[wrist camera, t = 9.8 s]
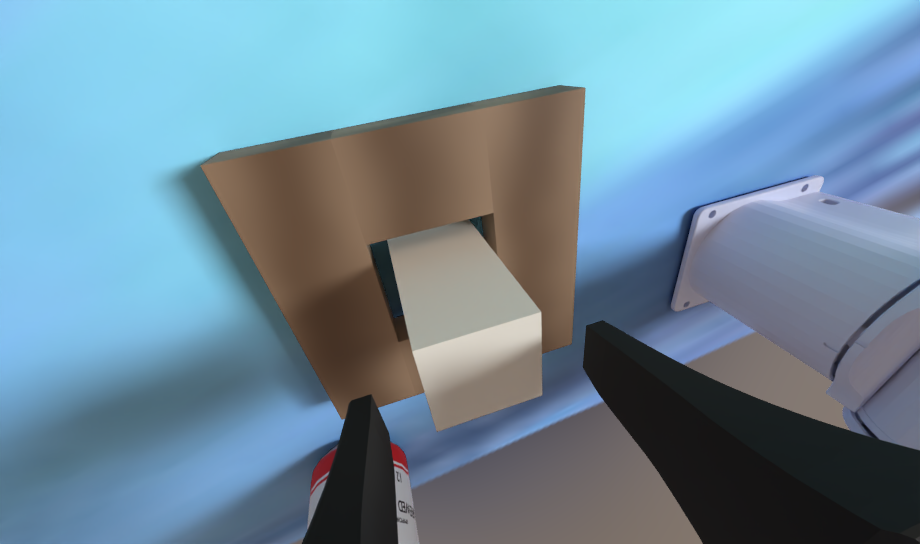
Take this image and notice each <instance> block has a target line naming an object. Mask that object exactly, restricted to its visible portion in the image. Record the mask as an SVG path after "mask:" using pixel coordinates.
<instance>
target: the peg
mask: <svg viewBox="0 0 920 544" xmlns="http://www.w3.org/2000/svg"><path fill="white" fill-rule="evenodd" d="M387 242H388V247H389V251H390V255H391V260H392V264H393V269H394V273H395V278H396V282H397V286H398V291H399V295H400V300H401V304H402V309H403V313H404V317H405V322H406V326H407V331H408V335H409V340H410V344H411V348H412V352H413V356H414V359H415V362H416V365H417V369H418V372H419V375H420V378H421V382H422V385H423V388H424V392H425V395H426V398H427V401H428V405H429V408H430V411H431V414H432V418H433V421H434V424H435V427H436V431H437V432H438V431H441V430H444V429H447V428H450V427H453V426H455V425H458V424H461V423H464V422H467V421H470V420H473V419H476V418H479V417H481V416H484V415H487V414H490V413H493V412H496V411H499V410H502V409H504V408H507V407H510V406H513V405H516V404H519V403H522V402H525V401H528V400H530V399H533V398H536V397H539V396H542V326H541V311H540V310H539V308H538V307H537V306H536V304H535V303H534V302H533V301H532V299H531V298H530V297H529V296H528V294H527V293H526V292H525V290H524V289H523V288H522V287H521V285H520V284H519V283H518V282H517V280H516V279H515V278H514V276H513V275H512V274H511V273H510V271H509V270H508V269H507V268H506V266H505V265H504V264H503V262H502V261H501V260H500V259H499V257H498V256H497V255H496V253H495V252H494V251H493V250H492V248H491V247H490V246H489V245H488V243H487V242H486V241H485V239H484V238H483V237H482V236H481V234H480V233H479V232H478V231H477V229H476V228H475V227H474V225H473V224H472V223H471V222H470V220H469V219H467V220H463V221H460V222H456V223H452V224H448V225H444V226H440V227H436V228H432V229H428V230H424V231H420V232H416V233H412V234H408V235H404V236H400V237H396V238H392V239H388V240H387Z"/></svg>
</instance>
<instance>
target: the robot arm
mask: <svg viewBox="0 0 920 544" xmlns="http://www.w3.org/2000/svg"><path fill="white" fill-rule="evenodd" d="M823 181H824V178H823V177H822V176H817V175H814V176H811V177H807V178H804V179H800V180H796V181H793V182H789V183H786V184H782V185H778V186H775V187H771V188H768V189H764V190H760V191H757V192H753V193H750V194H746V195H742V196H739V197H735V198H732V199H728V200H724V201H721V202H717V203H714V204H710V205H707V206H703V207H701V208H699V209H698V210H696V212H695V213H694V216H693V220H692V224H691V228H690V232H689V236H688V239H687V243H686V247H685V251H684V255H683V259H682V263H681V267H680V271H679V275H678V279H677V283H676V287H675V291H674V295H673V299H672V303H671V308H672V309H673V310H674V311H676V312H677V311H681V310H684V309H687V308H690V307H693V306H696V305H699V304H702V303H705V302H709V301H710V302H711V303H713V304H715V305H716V306H718V307H719V308H721V309H722V310H724V311H725V312H727V313H728V314H730V315H731V316H733V317H734V318H736V319H738V320H739V321H741V322H742V323H744V324H745V325H747V326H748V327H750V328H751V329H753V330H754V331H756V332H757V333H759V334H761V335H762V336H764V337H765V338H767V339H768V340H770V341H771V342H773V343H774V344H776V345H777V346H779V347H780V348H782V349H784V350H785V351H787V352H788V353H790V354H791V355H793V356H794V357H796V358H797V359H799V360H800V361H802V362H803V363H805V364H807V365H808V366H810V367H811V368H813V369H815V370H816V371H817V372H819V373H820V374H822V375H823V376H825V377H826V378H828V379H830V380H831V381H833V383H832V384H831V386H830V387H829V389H828V390H827V391H826V394H828V395H829V396H831V397H832V398H834V399H835V400H837V401H838V402H839V403H841V404H842V405H844V408H843V418H844V420H845V423H846V424H847V426H848V428H849V429H850V431H849V430H846V429H843V428H839V427H836V426H833V425H830V424H827V423H824V422H821V421H818V420H815V419H812V418H809V417H806V416H803V415H801V414H798V413H795V412H792V411H790V410H787V409H784V408H781V407H779V406H776V405H773V404H771V403H768V402H766V401H763V400H760V399H758V398H755V397H753V396H751V395H748V394H746V393H743V392H741V391H739V390H736V389H734V388H732V387H729V386H727V385H725V384H722V383H720V382H718V381H715V380H713V379H712V378H709V377H707V376H705V375H703V374H701V373H699V372H697V371H695V370H693V369H691V368H689V367H687V366H685V365H683V364H681V363H679V362H677V361H675V360H673V359H671V358H669V357H667V356H666V355H664V354H662V353H660V352H658V351H656V350H655V349H653V348H651V347H649V346H647V345H646V344H644V343H642V342H640V341H638V340H637V339H635V338H633V337H631V336H630V335H628V334H626V333H624V332H623V331H621V330H619V329H617V328H615V327H614V326H612V325H610V324H608V323H606V322H605V321H600V322H596V323H593V324H590V325H587V326H586V336H585V348H584V361H583V368H584V370H585V372H586V374H587V375H588V377H589V379H590V380H591V382H592V384H593V385H594V387H595V389H596V390H597V392H598V393H599V395H600V396H601V398H602V399H603V400H604V402H605V403H606V404H607V405H608V407H609V408H610V409H611V411H612V412H613V413H614V415H615V416H616V417H617V418H618V419H619V421H620V422H621V423H622V425H623V426H624V427H625V429H626V430H627V431H628V432H629V434H630V435H631V436H632V438H633V439H634V440H635V441H636V443H637V444H638V445H639V446H640V448H641V449H642V450H643V452H644V453H645V454H646V456H647V457H648V458H649V460H650V461H651V462H652V464H653V465H654V466H655V468H656V469H657V471H658V472H659V474H660V475H661V477H662V478H663V480H664V481H665V483H666V485H667V486H668V488H669V489H670V491H671V492H672V494H673V496H674V497H675V499H676V500H677V502H678V503H679V505H680V506H681V508H682V510H683V511H684V513H685V515H686V516H687V518H688V519H689V521H690V523H691V524H692V526H693V527H694V529H695V531H696V532H697V534H698V535H699V537H700V539H701V541H702V543H703V544H920V219H919V218H915V217H912V216H908V215H904V214H900V213H897V212H893V211H889V210H886V209H882V208H878V207H874V206H871V205H867V204H863V203H859V202H856V201H852V200H848V199H845V198H841V197H837V196H833V195H830V194H826V193H822V192H819V191H820V189H821V186H822V184H823ZM302 544H398V526H397V507H396V489H395V471H394V462H393V456H392V449H391V443H390V437H389V432H388V430H387V428H386V425H385V423H384V421H383V419H382V416H381V414H380V412H379V410H378V408H377V405H376V403H375V401H374V399H373V396H372V394H370V395H367V396H363V397H360V398H357V399H354V400H351V401H350V403H349V405H348V409H347V414H346V418H345V422H344V426H343V429H342V433H341V436H340V440H339V443H338V447H337V450H336V453H335V456H334V459H333V462H332V465H331V468H330V471H329V474H328V477H327V480H326V483H325V486H324V489H323V491H322V494H321V497H320V499H319V502H318V504H317V507H316V510H315V512H314V515H313V518H312V520H311V523H310V525H309V528H308V530H307V532H306V535H305V537H304V540H303V542H302Z"/></svg>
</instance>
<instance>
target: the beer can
mask: <svg viewBox="0 0 920 544" xmlns="http://www.w3.org/2000/svg"><path fill="white" fill-rule="evenodd" d="M390 443H391V449H392V456H393V462H394V471H395V489H396V507H397V526H398V544H419V540H418V533H417V526H416V519H415V513H414V506H413V499H412V492H411V486H410V479H409V472H408V466H407V461H406V456H405V454H404V452H403V451H402V450H401V449H400V447H399V446H398V445H396V444H394V443H392V442H390ZM337 447H338V445H336V446H335V447H334V448H333V449H331V450H330V451H329V452H328V453H327V454H326V455H325V456H324V457H323V458H322V459H321V460H320V461H319V463H318V464H317V466H316V467H315V469H314V471H313V475H312V481H311V490H310V502H309V514H308V526H307V530H308V528H309V525H310V523H311V520H312V518H313V515H314V512H315V510H316V507H317V504H318V502H319V499H320V497H321V494H322V491H323V489H324V486H325V483H326V480H327V477H328V474H329V471H330V468H331V465H332V462H333V459H334V456H335V453H336V450H337Z"/></svg>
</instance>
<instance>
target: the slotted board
mask: <svg viewBox="0 0 920 544" xmlns="http://www.w3.org/2000/svg"><path fill="white" fill-rule="evenodd" d="M584 105H585V88H583V87H572V86H562V85H558V86H553V87H548V88H543V89H538V90H533V91H528V92H523V93H518V94H512V95H507V96H502V97H497V98H492V99H487V100H482V101H477V102H472V103H467V104H462V105H457V106H452V107H447V108H442V109H437V110H432V111H427V112H422V113H417V114H412V115H407V116H402V117H396V118H391V119H386V120H381V121H376V122H371V123H366V124H361V125H356V126H351V127H346V128H341V129H336V130H331V131H326V132H321V133H316V134H311V135H306V136H301V137H296V138H291V139H285V140H280V141H275V142H270V143H265V144H260V145H255V146H250V147H245V148H240V149H235V150H230V151H225V152H220V153H218V154H216V155H215V156H214V157H212V158H211V159H209V160H208V161H206V162H205V163H203V164H202V165H200V166H201V168H202V170H203V171H204V173H205V175H206V177H207V179H208V180H209V182H210V184H211V186H212V188H213V189H214V191H215V193H216V195H217V197H218V198H219V200H220V202H221V204H222V206H223V207H224V209H225V211H226V213H227V215H228V216H229V218H230V220H231V222H232V223H233V225H234V227H235V229H236V231H237V232H238V234H239V236H240V238H241V240H242V241H243V243H244V245H245V247H246V249H247V250H248V252H249V254H250V256H251V258H252V259H253V261H254V263H255V265H256V267H257V268H258V270H259V272H260V274H261V276H262V277H263V279H264V281H265V283H266V284H267V286H268V288H269V290H270V292H271V293H272V295H273V297H274V299H275V301H276V302H277V304H278V306H279V308H280V310H281V311H282V313H283V315H284V317H285V319H286V320H287V322H288V324H289V326H290V328H291V329H292V331H293V333H294V335H295V336H296V338H297V340H298V342H299V344H300V345H301V347H302V349H303V351H304V353H305V354H306V356H307V358H308V360H309V362H310V363H311V365H312V367H313V369H314V371H315V372H316V374H317V376H318V378H319V380H320V381H321V383H322V385H323V387H324V389H325V390H326V392H327V394H328V396H329V397H330V399H331V401H332V403H333V405H334V406H335V408H336V410H337V412H338V414H339V415H340V417H341V419H345V418H346V414H347V409H348V405H349V403H350V401H351V400H354V399H357V398H360V397H363V396H367V395H370V394H372V396H373V399H374V401H375V403H376V405H377V408H378V407H381V406H385V405H388V404H391V403H394V402H397V401H400V400H403V399H406V398H409V397H412V396H415V395H418V394H421V393H424V388H423V385H422V382H421V378H420V375H419V372H418V369H417V365H416V362H415V359H414V356H413V352H412V348H411V344H410V340H409V335H408V331H407V326H406V322H405V317H404V315H403V316H399V317H396V318H394V316H393V313H392V310H391V307H390V304H389V301H388V298H387V295H386V292H385V289H384V286H383V283H382V280H381V277H380V274H379V271H378V267H377V264H376V261H375V258H374V255H373V252H372V249H371V246H370V244H373V243H377V242H381V241H384V240H388V239H392V238H396V237H400V236H404V235H408V234H412V233H416V232H420V231H424V230H428V229H432V228H436V227H440V226H444V225H448V224H452V223H456V222H460V221H463V220H467V219H471V218H475V217H479V216H481V219H482V228H483V236H484V239H485V241H486V242H487V243H488V245H489V246H490V247H491V248H492V250H493V251H494V252H495V253H496V255H497V256H498V257H499V259H500V260H501V261H502V262H503V264H504V265H505V266H506V268H507V269H508V270H509V271H510V273H511V274H512V275H513V276H514V278H515V279H516V280H517V282H518V283H519V284H520V285H521V287H522V288H523V289H524V290H525V292H526V293H527V294H528V296H529V297H530V298H531V299H532V301H533V302H534V303H535V304H536V306H537V307H538V308H539V310H540V311H541V326H542V354H543V353H546V352H549V351H552V350H555V349H558V348H561V347H564V346H567V345H570V344H572V331H573V313H574V294H575V275H576V256H577V237H578V218H579V200H580V181H581V162H582V143H583V124H584Z"/></svg>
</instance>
